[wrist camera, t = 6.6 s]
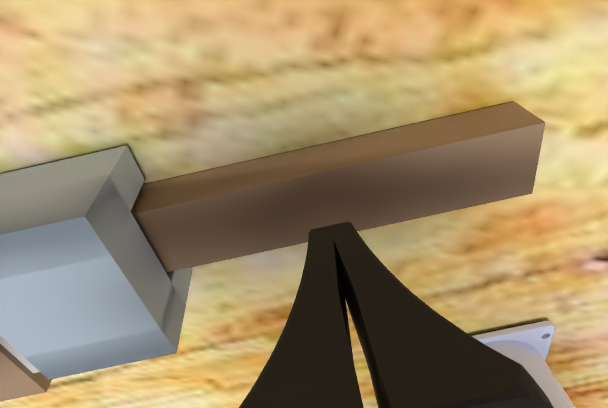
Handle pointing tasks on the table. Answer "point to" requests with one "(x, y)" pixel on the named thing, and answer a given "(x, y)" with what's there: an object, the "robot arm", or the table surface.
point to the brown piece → (325, 195)
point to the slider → (83, 268)
